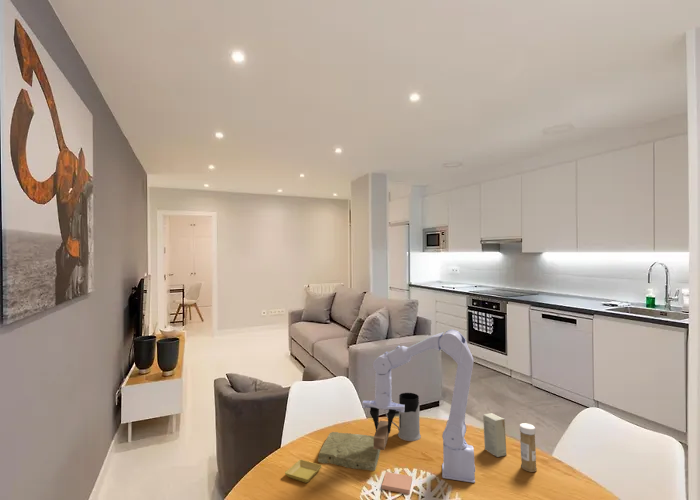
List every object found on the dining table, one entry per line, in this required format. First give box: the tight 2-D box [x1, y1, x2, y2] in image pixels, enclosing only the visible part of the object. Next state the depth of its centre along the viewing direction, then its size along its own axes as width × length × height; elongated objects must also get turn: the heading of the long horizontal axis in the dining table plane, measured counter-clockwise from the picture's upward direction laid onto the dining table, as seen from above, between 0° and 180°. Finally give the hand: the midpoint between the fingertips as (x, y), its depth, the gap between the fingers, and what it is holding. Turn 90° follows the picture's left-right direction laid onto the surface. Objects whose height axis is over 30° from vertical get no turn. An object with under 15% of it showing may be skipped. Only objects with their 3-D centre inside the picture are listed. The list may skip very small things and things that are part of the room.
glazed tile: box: [381, 471, 413, 495], centre depth 102 cm, size 8×2×7 cm
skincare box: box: [482, 412, 507, 458], centre depth 121 cm, size 6×4×12 cm
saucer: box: [284, 459, 323, 484], centre depth 107 cm, size 9×9×2 cm
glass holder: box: [384, 392, 422, 442], centre depth 133 cm, size 9×14×15 cm, turn 88°
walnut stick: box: [373, 420, 390, 451], centre depth 115 cm, size 4×12×4 cm, turn 165°
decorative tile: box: [317, 431, 381, 472], centre depth 120 cm, size 19×20×4 cm
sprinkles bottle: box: [519, 422, 538, 473], centre depth 111 cm, size 5×5×14 cm
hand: (383, 430), depth 118 cm, fingers closed on walnut stick, 3 cm apart
